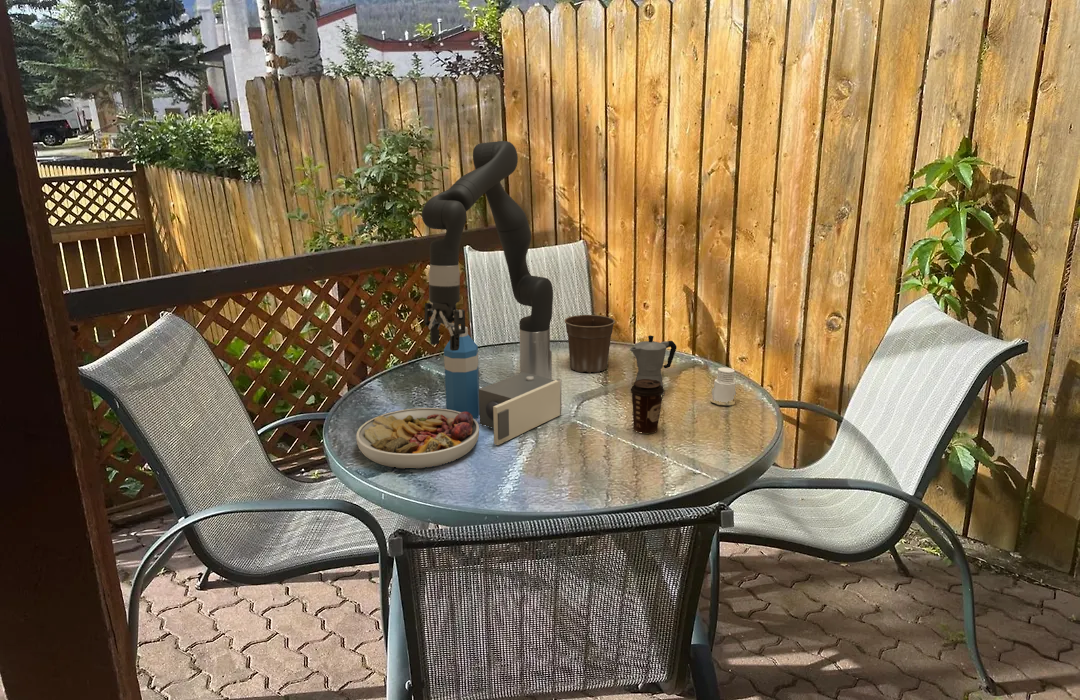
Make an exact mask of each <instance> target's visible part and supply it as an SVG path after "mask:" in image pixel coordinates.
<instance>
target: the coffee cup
mask: <svg viewBox="0 0 1080 700" xmlns="http://www.w3.org/2000/svg"><path fill="white" fill-rule="evenodd" d="M663 392H664V393H665V388H664V385H663V386H661V383H660V381H657V380H651V379H641V380H637V381H636V380H635V381H634V382H633V385H632V386H631V388H630V393H631V401H632V417H633V424H632V425H633V427H632V429H634V430H635V431H634V430H633V431H634V432H636V431H637V432H636V433H638V432H642V433H651V434H654V433H656V432H657V431H658V430H659V429H658V427H659V420H660V416H661V408H662V403H663V396H662V397H661V394H663ZM655 431H656V432H655ZM642 433H641V434H642Z"/></svg>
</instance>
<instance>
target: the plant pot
mask: <svg viewBox="0 0 1080 700" xmlns="http://www.w3.org/2000/svg"><path fill="white" fill-rule="evenodd" d="M615 323H616V320H615V319H614V318H612V317H609V316H604V315H598V314H578V315H571V316H568V317H566V318H564V324H565V325H566V326H565V327H566V334H567V339H568V353H569V367H570V369H571V370H573V371H574V370H575V372H578V373H585V372H586V373H589V374H592V373H591V372H597V373H601V372H600V371H602V372H604V371H606V370H607V369H606V368H608V366H609V365H608V363H609V355H610V346H611V338H612V334H613V331H614V330H613V329H614V325H615ZM605 369H606V370H605ZM603 370H604V371H603Z"/></svg>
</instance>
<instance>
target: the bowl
mask: <svg viewBox="0 0 1080 700" xmlns="http://www.w3.org/2000/svg"><path fill="white" fill-rule="evenodd" d="M479 436H480V424H479V423H478V421H477V419H474V418H473V416H472V415H471V413H469V412H458V411H454V410H448V409H446V408H437V407H420V408H419V407H418V408H417V407H416V408H415V407H414V408H407V409H400V410H396V411H395V410H394V411H391V412H387V413H384V414H380V415H378V416H376V417H373V418H371V419H369V420H367V421H366V422H365V423H363V424H362V425H361V426H360V427H359V428H358V430H357V432H356V437H355V439H356V443H357V447H358V449H359V450H360V452H361V453H362V454H363V455H364V456H365V457H366V458H367V459H369V460H370V461H372V462H375V464H379V465H382V466H385V467H390V468H394V467H396V468H397V469H405V468H416V469H425V467H427V468H433V467H432V466H434V467H438V466H442V464H443V465H445V463H446V464H449V463H452V462H454V461H456V459H457V460H458V459H460V458H463V457H464V456H465V455H467V454H468V453H469V452H471V450H472V449H473V448H474V447H475V445H476V444H477V442H478V439H479ZM451 461H452V462H451ZM448 462H449V463H448Z"/></svg>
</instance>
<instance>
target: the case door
mask: <svg viewBox="0 0 1080 700" xmlns="http://www.w3.org/2000/svg"><path fill="white" fill-rule="evenodd" d="M554 380H555V381H552V382H550V383H548V384H545V385H543V386H541V387H538V388H536V389H534V390H531V391H529V392H526V393H524V394H522V395H519V396H517V397H515V398H512V399H510V400H508V401H505V402H503V403H501V404H498V405H496V406H493V417H494V429H493V444H494V445H496V446H499V445H501V444H503V443H505V442H507V441H508V442H509V440H512V439H513V438H516V437H518V436H520V435H522V434H524V433H527V432H528V431H530V430H532V429H535V428H536V427H538V426H540V425H543V424H544V423H547V422H549V421H551V420H553V419H555V418H557V417H559V416H562V404H563V403H562V402H563V401H562V400H563V399H562V395H563V394H562V387H563V386H562V382H563V381H562V379H561V378H557V379H554Z"/></svg>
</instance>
